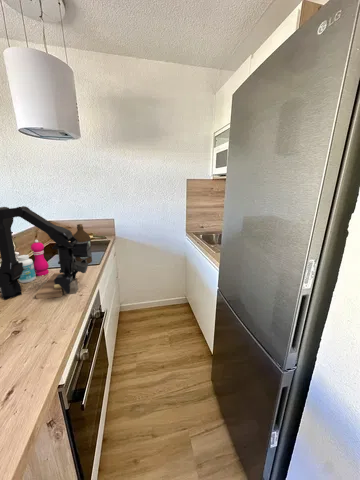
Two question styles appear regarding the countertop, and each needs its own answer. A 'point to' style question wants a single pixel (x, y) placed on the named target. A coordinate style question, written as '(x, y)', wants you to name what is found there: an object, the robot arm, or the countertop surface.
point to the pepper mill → (39, 259)
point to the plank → (50, 289)
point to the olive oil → (82, 238)
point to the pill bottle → (27, 269)
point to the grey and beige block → (72, 287)
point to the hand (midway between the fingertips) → (70, 289)
